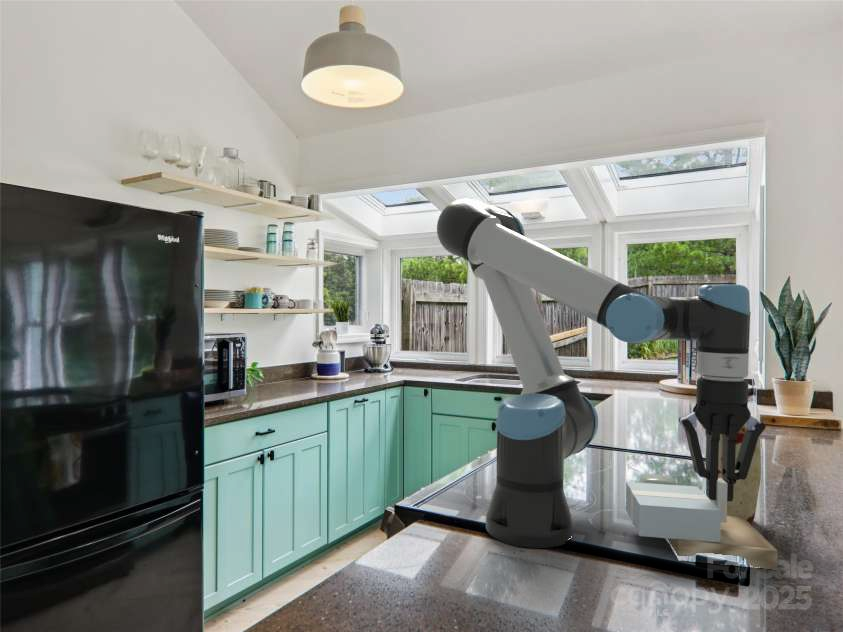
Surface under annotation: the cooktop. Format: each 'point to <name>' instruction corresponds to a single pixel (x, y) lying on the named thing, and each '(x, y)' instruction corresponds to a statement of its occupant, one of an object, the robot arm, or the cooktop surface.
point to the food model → (744, 482)
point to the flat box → (672, 512)
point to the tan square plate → (733, 544)
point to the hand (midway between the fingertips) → (718, 519)
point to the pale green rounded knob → (657, 479)
